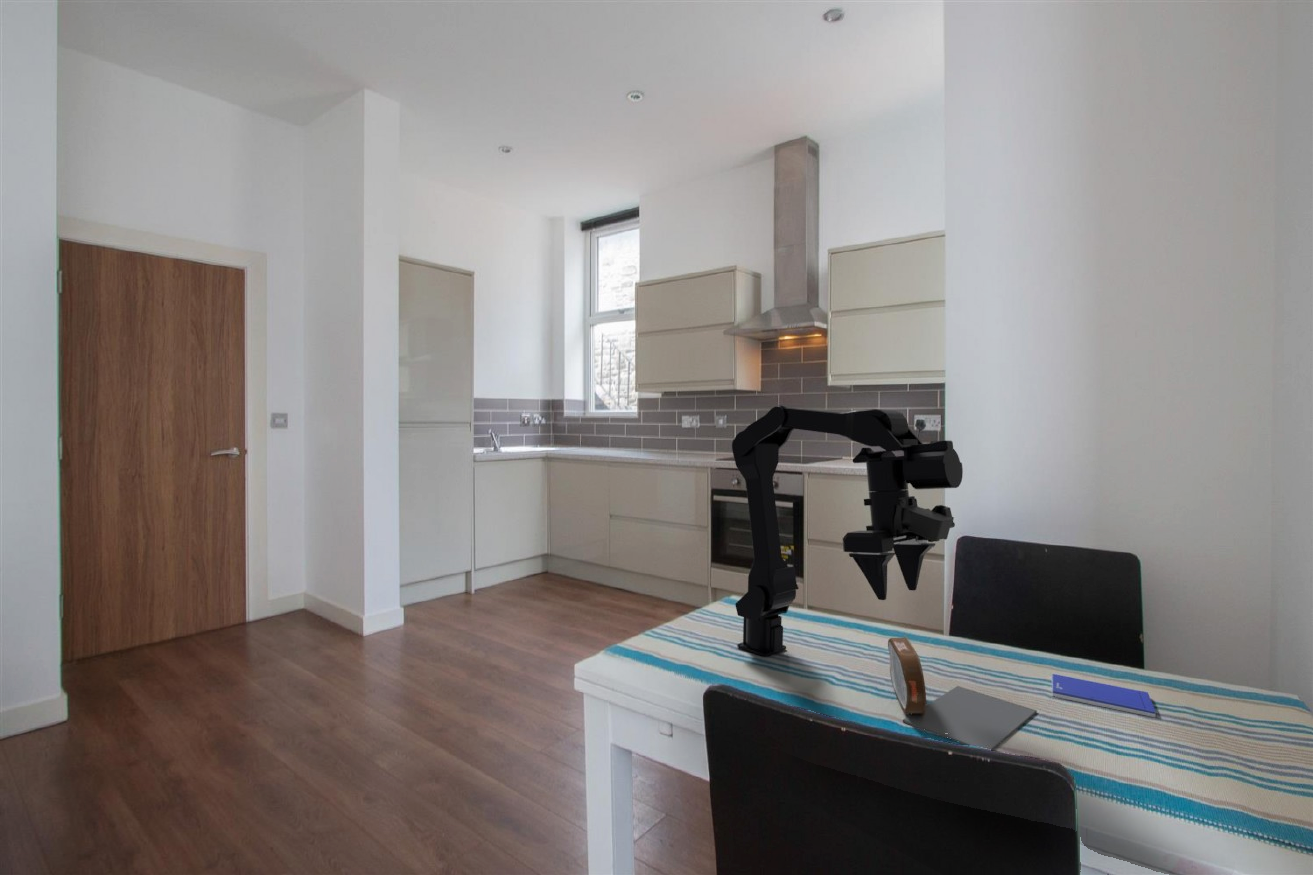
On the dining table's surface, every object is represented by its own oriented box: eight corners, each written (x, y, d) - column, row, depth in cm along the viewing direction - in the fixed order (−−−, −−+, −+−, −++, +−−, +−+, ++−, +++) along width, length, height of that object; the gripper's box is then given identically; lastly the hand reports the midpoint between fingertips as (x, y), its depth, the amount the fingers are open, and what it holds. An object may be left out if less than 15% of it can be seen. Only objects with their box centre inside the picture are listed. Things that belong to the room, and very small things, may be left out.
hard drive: (1052, 689, 96) (1155, 710, 89) (1051, 672, 103) (1147, 690, 96) (1052, 699, 96) (1155, 721, 89) (1051, 682, 103) (1147, 700, 96)
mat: (902, 721, 86) (902, 719, 86) (957, 687, 98) (957, 685, 98) (988, 753, 78) (988, 751, 78) (1036, 712, 90) (1036, 710, 90)
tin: (928, 725, 84) (927, 661, 84) (904, 723, 85) (903, 660, 85) (907, 684, 99) (906, 630, 99) (886, 682, 99) (885, 629, 100)
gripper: (909, 491, 84) (920, 611, 82) (968, 486, 96) (978, 589, 95) (836, 494, 92) (845, 603, 91) (899, 489, 104) (908, 584, 103)
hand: (897, 594), depth 95 cm, fingers open, 9 cm apart
